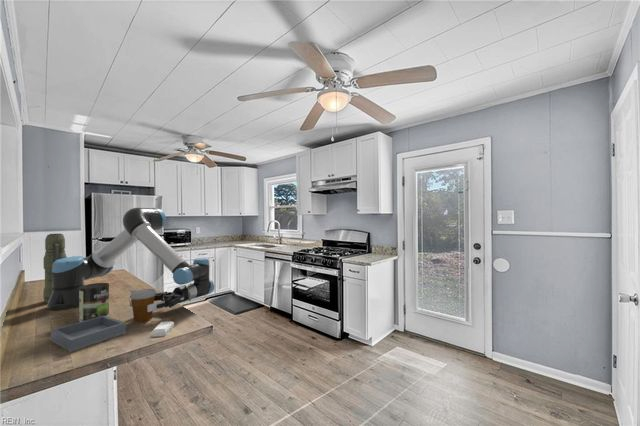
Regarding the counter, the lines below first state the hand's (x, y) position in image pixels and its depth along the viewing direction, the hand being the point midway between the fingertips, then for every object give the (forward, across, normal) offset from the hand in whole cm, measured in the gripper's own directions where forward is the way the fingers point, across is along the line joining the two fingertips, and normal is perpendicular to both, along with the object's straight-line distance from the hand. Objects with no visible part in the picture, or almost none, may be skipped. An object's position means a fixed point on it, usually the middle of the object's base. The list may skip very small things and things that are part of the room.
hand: (138, 306), depth 117 cm
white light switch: (+1, -19, -7) cm, 20 cm away
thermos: (+5, +69, -7) cm, 70 cm away
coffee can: (+7, +21, -7) cm, 23 cm away
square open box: (+17, 0, -6) cm, 18 cm away
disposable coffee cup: (-2, 0, -7) cm, 7 cm away
